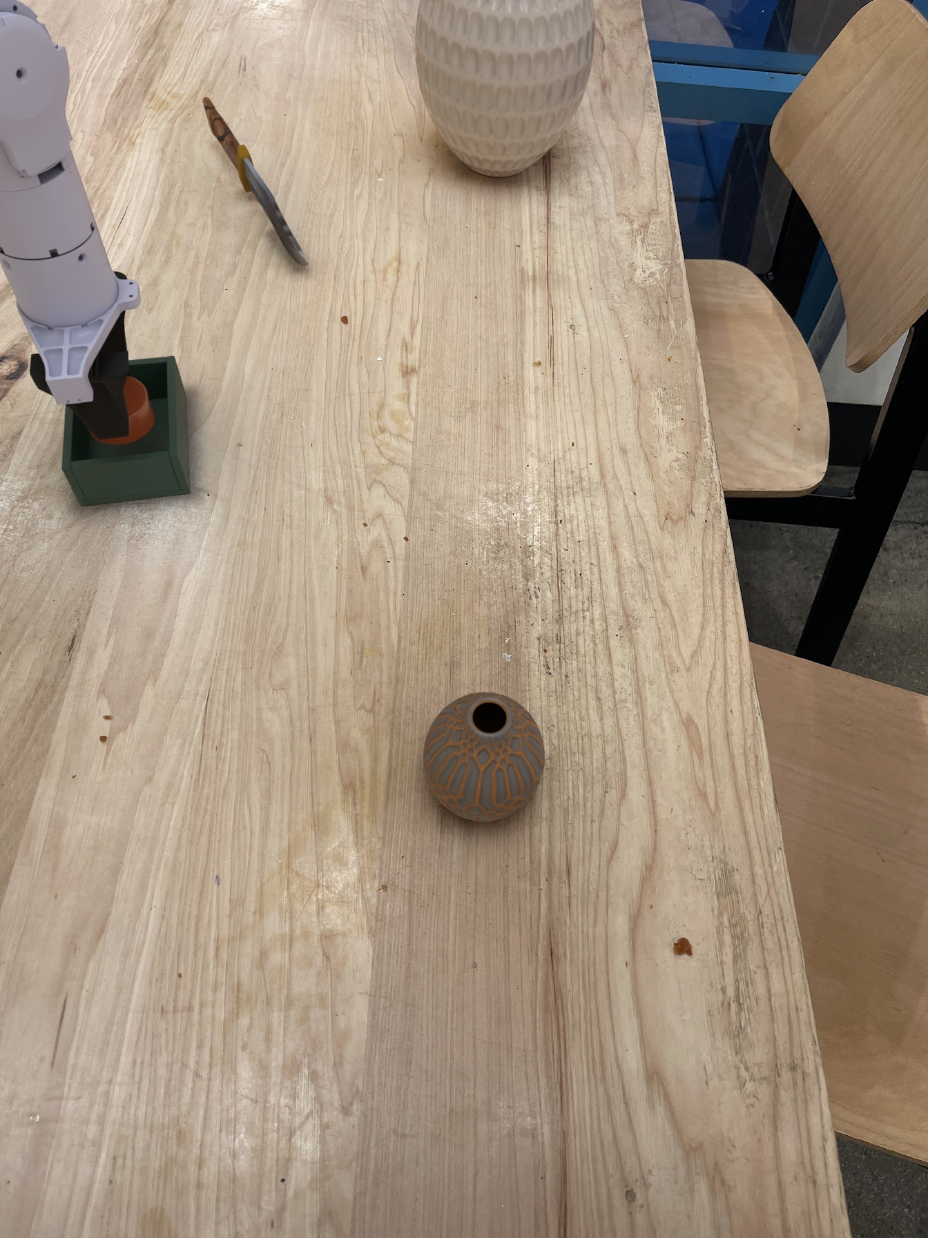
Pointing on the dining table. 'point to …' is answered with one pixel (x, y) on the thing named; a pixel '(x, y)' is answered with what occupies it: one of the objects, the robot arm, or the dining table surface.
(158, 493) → the tub
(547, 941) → the dining table surface
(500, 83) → the vase
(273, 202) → the knife
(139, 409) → the cylinder
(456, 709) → the vase
